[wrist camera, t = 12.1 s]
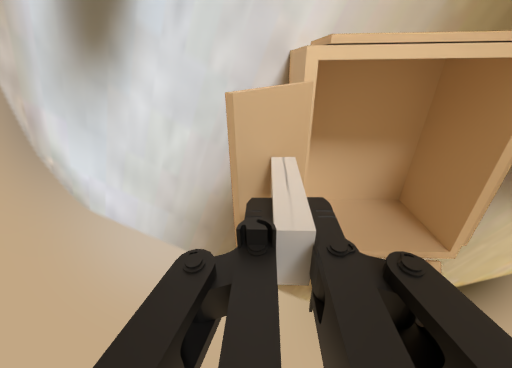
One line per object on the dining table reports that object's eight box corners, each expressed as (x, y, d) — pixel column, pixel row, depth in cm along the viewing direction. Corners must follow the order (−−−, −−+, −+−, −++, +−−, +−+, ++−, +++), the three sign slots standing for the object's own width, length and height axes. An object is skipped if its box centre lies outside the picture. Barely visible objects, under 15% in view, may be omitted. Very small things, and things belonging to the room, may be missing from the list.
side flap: (232, 93, 10) (225, 92, 10) (242, 260, 15) (236, 256, 15) (313, 81, 14) (306, 81, 15) (300, 211, 19) (295, 209, 20)
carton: (290, 43, 23) (307, 34, 14) (462, 40, 22) (592, 28, 13) (282, 201, 32) (290, 256, 23) (405, 202, 31) (461, 258, 22)
